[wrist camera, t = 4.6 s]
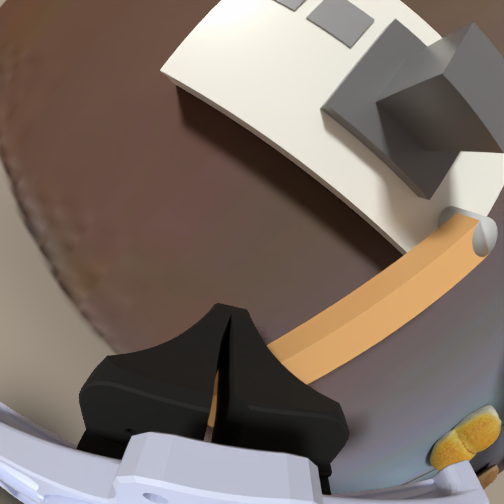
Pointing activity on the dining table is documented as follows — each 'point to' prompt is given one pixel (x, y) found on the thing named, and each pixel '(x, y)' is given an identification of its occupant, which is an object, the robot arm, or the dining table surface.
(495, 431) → the bread roll
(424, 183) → the plug
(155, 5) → the dining table surface
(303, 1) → the white flat panel
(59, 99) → the dining table surface
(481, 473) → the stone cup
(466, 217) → the tan wooden plank
